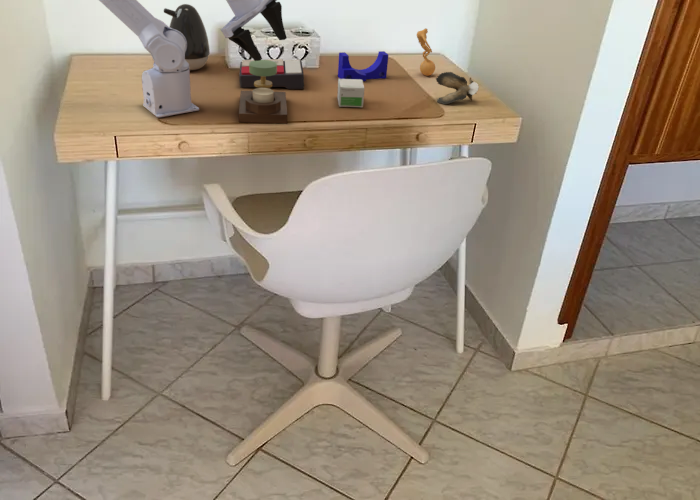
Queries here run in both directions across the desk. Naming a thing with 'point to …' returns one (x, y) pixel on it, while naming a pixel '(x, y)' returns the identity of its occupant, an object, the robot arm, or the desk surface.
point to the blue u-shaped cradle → (372, 72)
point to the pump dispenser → (191, 34)
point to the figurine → (427, 65)
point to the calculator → (285, 77)
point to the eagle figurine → (456, 87)
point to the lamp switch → (263, 95)
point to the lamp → (263, 72)
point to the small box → (350, 93)
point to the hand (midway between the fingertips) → (271, 49)
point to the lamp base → (262, 109)
